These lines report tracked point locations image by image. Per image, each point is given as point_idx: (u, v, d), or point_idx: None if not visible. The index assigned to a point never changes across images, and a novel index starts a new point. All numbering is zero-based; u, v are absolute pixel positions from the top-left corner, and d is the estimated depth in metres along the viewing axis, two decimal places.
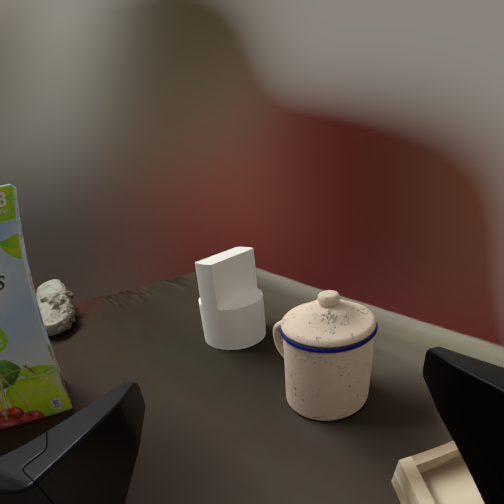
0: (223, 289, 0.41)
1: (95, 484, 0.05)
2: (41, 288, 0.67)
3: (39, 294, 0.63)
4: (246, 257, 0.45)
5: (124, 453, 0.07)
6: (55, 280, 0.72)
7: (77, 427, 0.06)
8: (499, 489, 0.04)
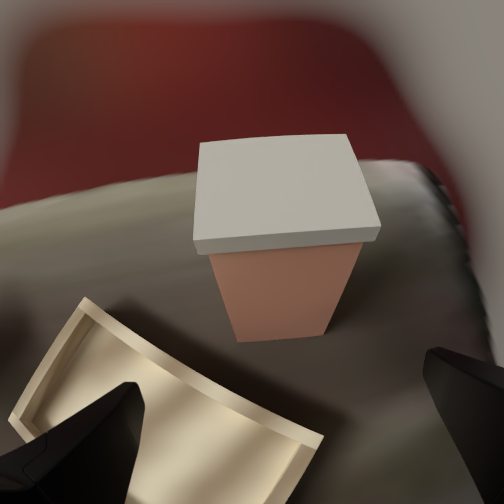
0: None
1: (95, 484, 0.05)
2: None
3: None
4: None
5: (124, 453, 0.07)
6: None
7: (77, 427, 0.06)
8: (499, 489, 0.04)
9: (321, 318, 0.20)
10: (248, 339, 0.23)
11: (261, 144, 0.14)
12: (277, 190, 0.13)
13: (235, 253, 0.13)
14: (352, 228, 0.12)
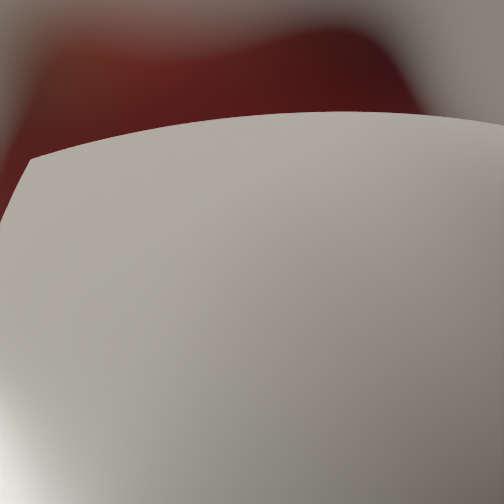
0: None
1: None
2: None
3: None
4: None
5: None
6: None
7: None
8: None
9: None
10: None
11: (239, 146, 0.03)
12: (337, 479, 0.02)
13: None
14: None
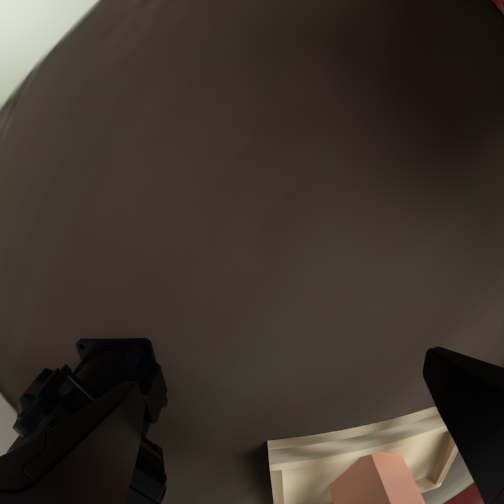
0: None
1: (95, 484, 0.05)
2: None
3: None
4: None
5: (124, 453, 0.07)
6: None
7: (77, 427, 0.06)
8: (499, 488, 0.04)
9: None
10: (365, 458, 0.24)
11: None
12: None
13: None
14: None
